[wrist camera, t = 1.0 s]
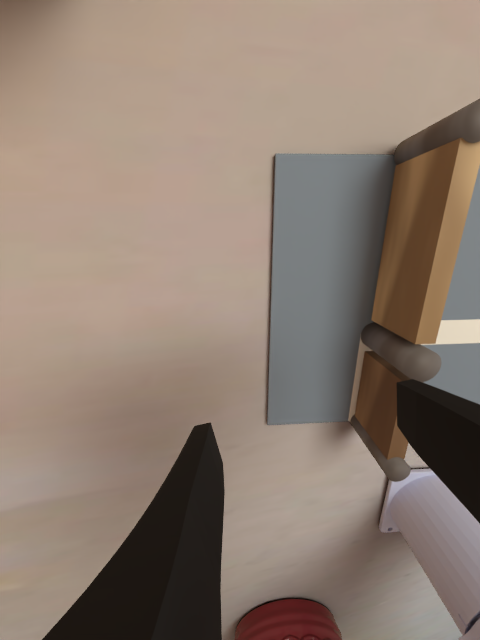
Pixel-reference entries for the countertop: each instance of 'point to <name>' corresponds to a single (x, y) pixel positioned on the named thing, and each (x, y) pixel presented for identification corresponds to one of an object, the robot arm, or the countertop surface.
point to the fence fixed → (388, 394)
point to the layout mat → (349, 287)
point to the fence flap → (426, 224)
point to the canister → (289, 622)
